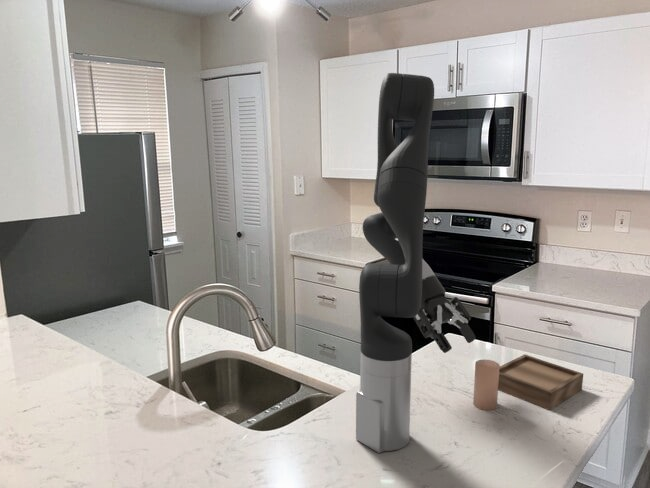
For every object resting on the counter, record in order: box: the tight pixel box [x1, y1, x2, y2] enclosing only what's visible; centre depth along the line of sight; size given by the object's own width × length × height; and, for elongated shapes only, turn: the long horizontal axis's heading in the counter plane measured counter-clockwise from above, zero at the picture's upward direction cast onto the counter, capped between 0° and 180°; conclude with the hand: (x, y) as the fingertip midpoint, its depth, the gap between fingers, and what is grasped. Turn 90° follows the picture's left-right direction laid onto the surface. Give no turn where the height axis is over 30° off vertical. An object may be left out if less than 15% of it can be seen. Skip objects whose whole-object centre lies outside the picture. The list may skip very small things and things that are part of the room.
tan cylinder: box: [472, 359, 501, 411], centre depth 111 cm, size 5×5×9 cm
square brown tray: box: [498, 354, 584, 411], centre depth 118 cm, size 14×14×4 cm
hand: (460, 345), depth 115 cm, fingers open, 8 cm apart
